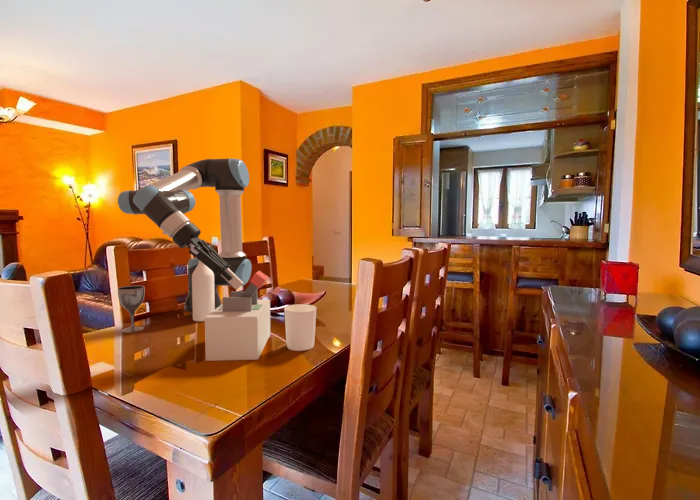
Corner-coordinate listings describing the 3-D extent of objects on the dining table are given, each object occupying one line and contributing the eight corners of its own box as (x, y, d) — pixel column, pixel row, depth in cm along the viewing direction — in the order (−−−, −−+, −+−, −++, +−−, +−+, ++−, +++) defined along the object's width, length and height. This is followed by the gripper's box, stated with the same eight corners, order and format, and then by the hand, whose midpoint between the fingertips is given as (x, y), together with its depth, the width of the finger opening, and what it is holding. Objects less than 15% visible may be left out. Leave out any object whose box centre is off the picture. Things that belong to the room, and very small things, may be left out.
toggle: (238, 298, 107) (259, 270, 107) (248, 305, 107) (268, 277, 107) (233, 303, 101) (255, 273, 101) (243, 310, 101) (265, 280, 101)
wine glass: (114, 330, 119) (112, 288, 118) (137, 325, 126) (136, 284, 125) (127, 334, 115) (125, 290, 114) (150, 328, 122) (149, 286, 121)
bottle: (194, 316, 138) (192, 242, 135) (215, 315, 140) (214, 242, 138) (191, 322, 130) (189, 243, 128) (214, 320, 132) (212, 243, 130)
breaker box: (228, 335, 115) (227, 288, 114) (270, 334, 116) (269, 287, 115) (205, 360, 93) (204, 302, 92) (257, 359, 94) (257, 302, 93)
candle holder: (310, 353, 99) (310, 312, 99) (279, 350, 101) (278, 310, 100) (320, 342, 109) (320, 305, 108) (291, 339, 111) (291, 303, 110)
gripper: (181, 238, 107) (236, 291, 110) (162, 240, 94) (225, 299, 97) (198, 221, 107) (253, 274, 110) (182, 221, 94) (244, 281, 97)
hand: (240, 286), depth 103 cm, fingers closed
